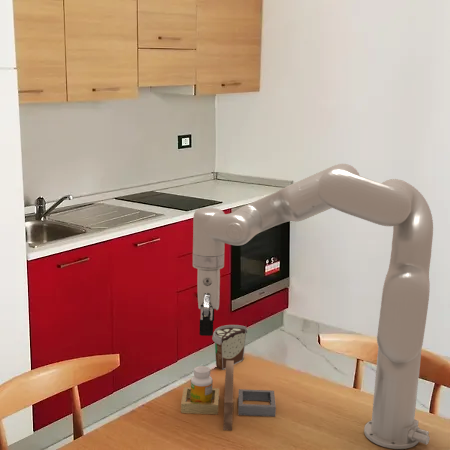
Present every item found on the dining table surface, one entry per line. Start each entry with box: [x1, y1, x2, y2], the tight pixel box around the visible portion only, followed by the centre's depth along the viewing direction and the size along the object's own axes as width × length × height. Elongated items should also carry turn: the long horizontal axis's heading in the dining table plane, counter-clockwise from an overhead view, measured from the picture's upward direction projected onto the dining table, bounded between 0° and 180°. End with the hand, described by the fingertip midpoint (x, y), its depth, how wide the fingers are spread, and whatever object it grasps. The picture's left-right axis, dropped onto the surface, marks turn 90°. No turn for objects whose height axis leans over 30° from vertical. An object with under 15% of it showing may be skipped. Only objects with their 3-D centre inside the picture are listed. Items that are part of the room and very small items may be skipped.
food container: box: [211, 324, 248, 371], centre depth 202 cm, size 12×6×10 cm, turn 141°
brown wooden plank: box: [222, 360, 235, 431], centre depth 176 cm, size 2×24×7 cm, turn 179°
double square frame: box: [180, 386, 277, 417], centre depth 176 cm, size 23×9×2 cm, turn 89°
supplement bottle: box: [189, 365, 214, 403], centre depth 176 cm, size 5×5×10 cm
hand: (206, 327), depth 173 cm, fingers open, 9 cm apart
